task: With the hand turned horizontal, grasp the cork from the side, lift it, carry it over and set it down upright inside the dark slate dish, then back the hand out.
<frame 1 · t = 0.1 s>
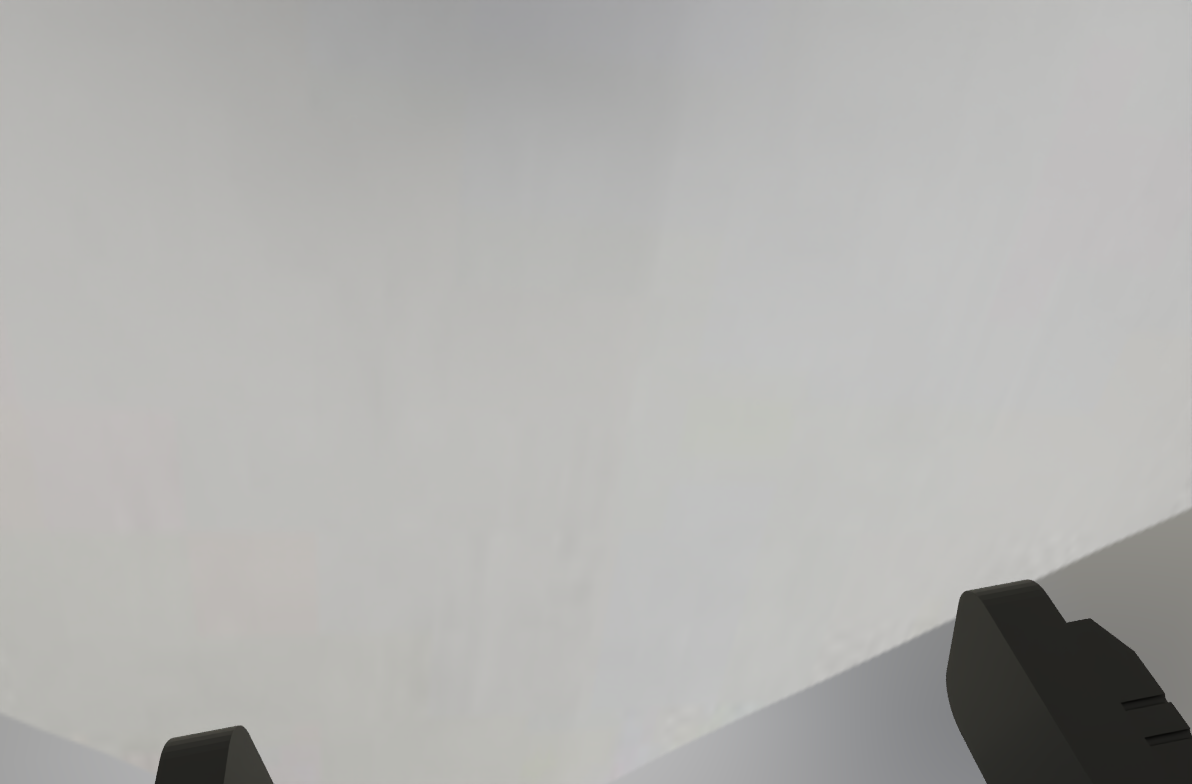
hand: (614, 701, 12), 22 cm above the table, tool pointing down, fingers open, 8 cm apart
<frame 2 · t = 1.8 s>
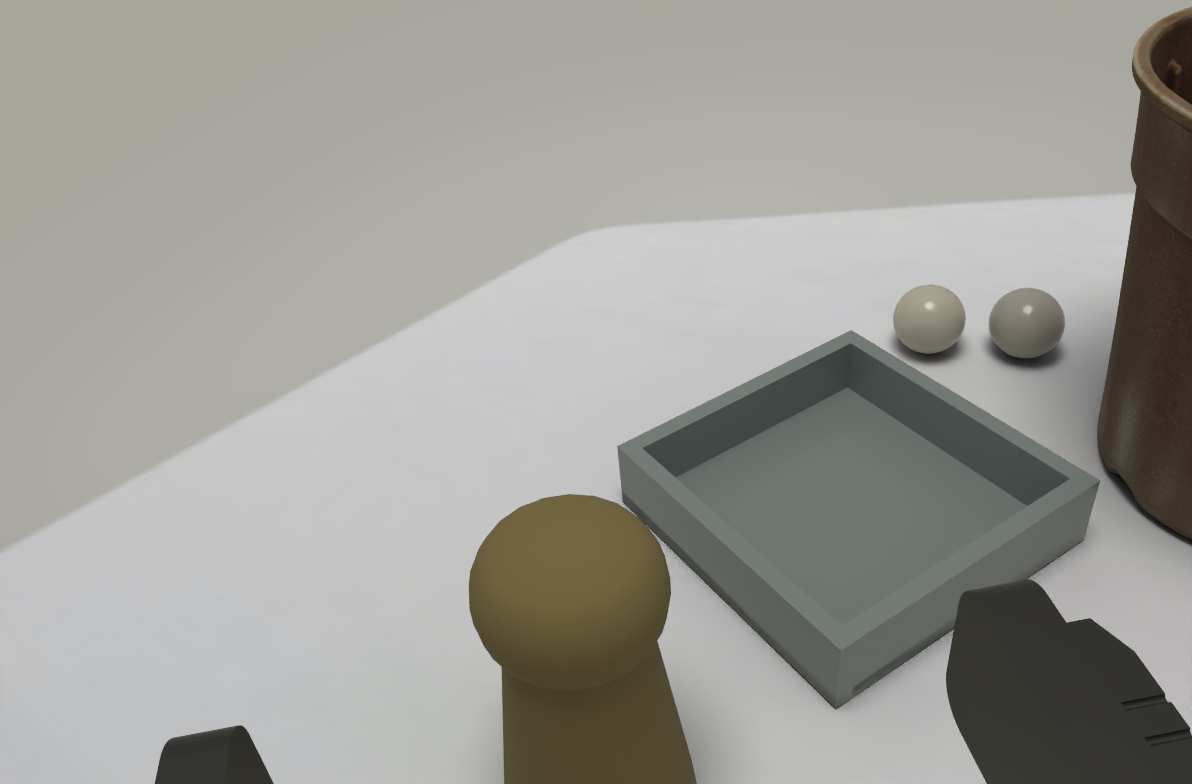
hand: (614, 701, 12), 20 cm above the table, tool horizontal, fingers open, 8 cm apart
pebble b: (1020, 351, 48), on the table
pebble a: (925, 347, 49), on the table
slate dish: (842, 520, 41), on the table
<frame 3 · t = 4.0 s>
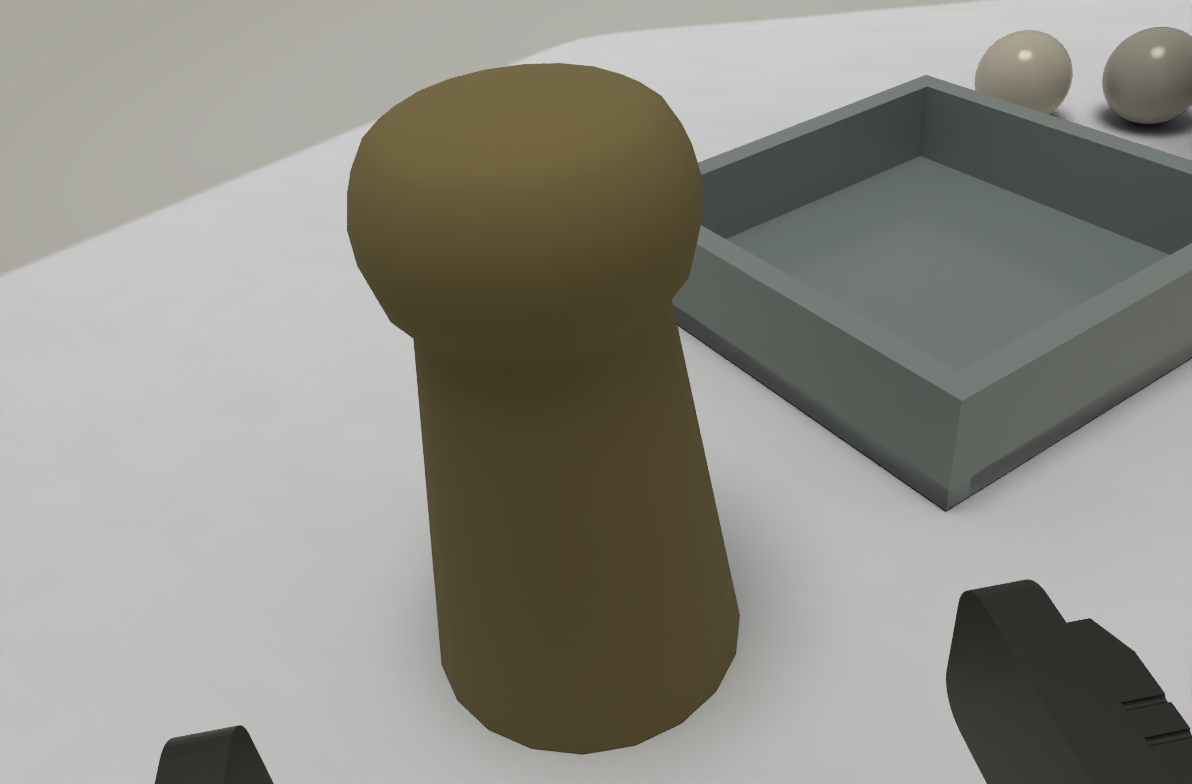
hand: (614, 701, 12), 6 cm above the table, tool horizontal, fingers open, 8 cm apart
pebble b: (1143, 120, 37), on the table
pebble a: (1016, 121, 38), on the table
slate dish: (928, 294, 29), on the table
cork: (589, 628, 21), on the table
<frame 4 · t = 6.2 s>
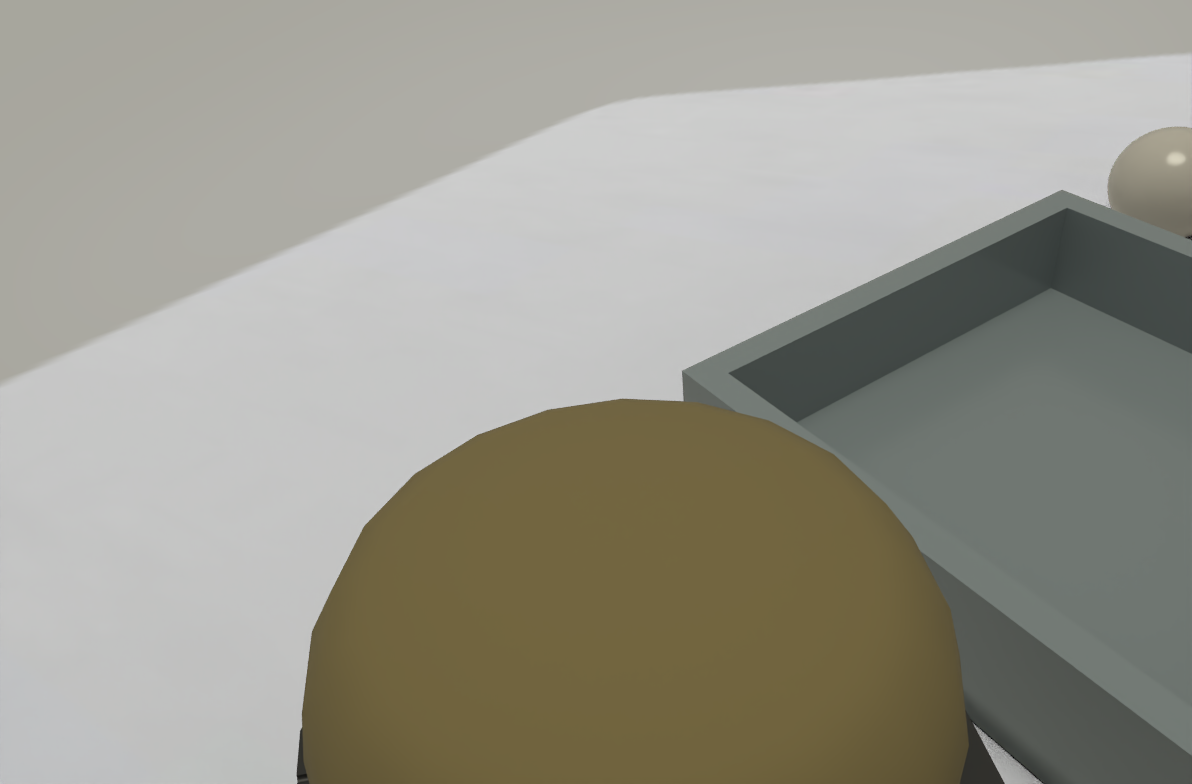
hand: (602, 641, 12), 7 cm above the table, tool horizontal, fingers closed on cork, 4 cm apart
pebble a: (1156, 233, 31), on the table
slate dish: (1092, 503, 22), on the table
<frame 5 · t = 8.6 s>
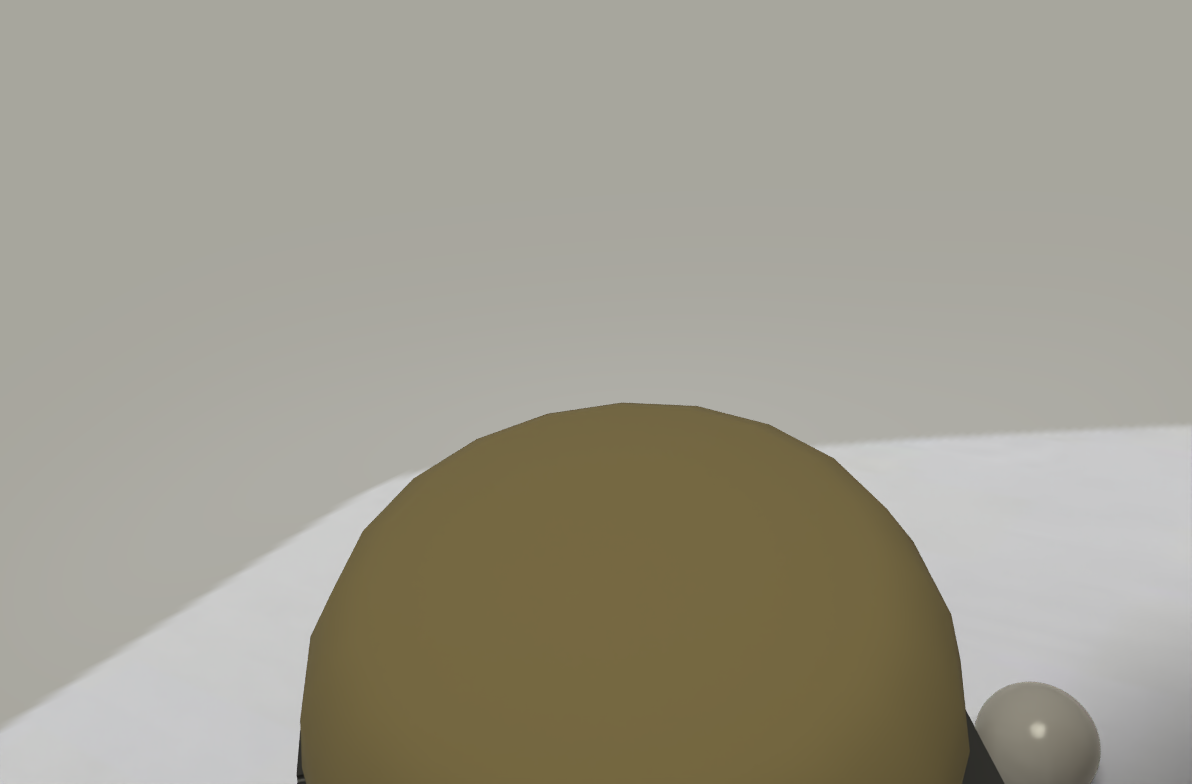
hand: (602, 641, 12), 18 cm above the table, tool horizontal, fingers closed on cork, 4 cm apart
pebble b: (1026, 775, 29), on the table
when the fingers open (8 cm above the table, at t = 10.8 s): cork moves 2 cm, point 1 cm above the table.
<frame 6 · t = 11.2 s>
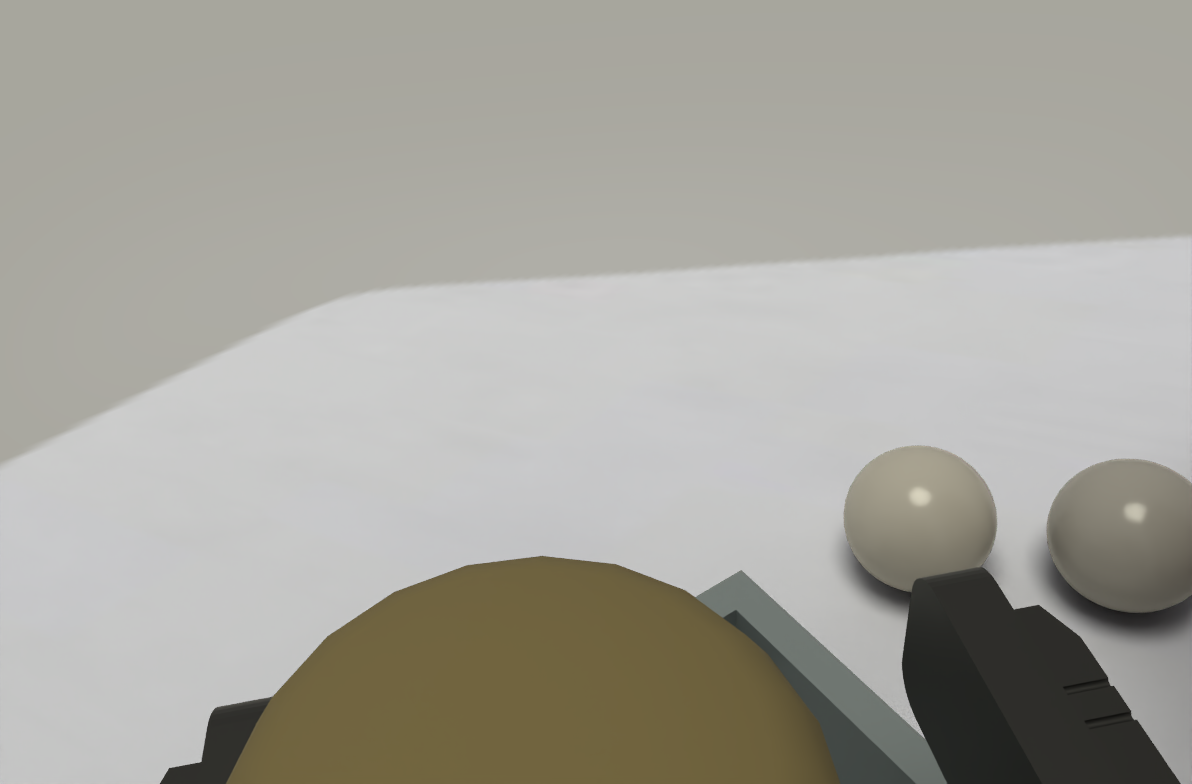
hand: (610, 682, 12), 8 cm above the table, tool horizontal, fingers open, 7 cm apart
pebble b: (1113, 586, 23), on the table
pebble a: (911, 568, 24), on the table
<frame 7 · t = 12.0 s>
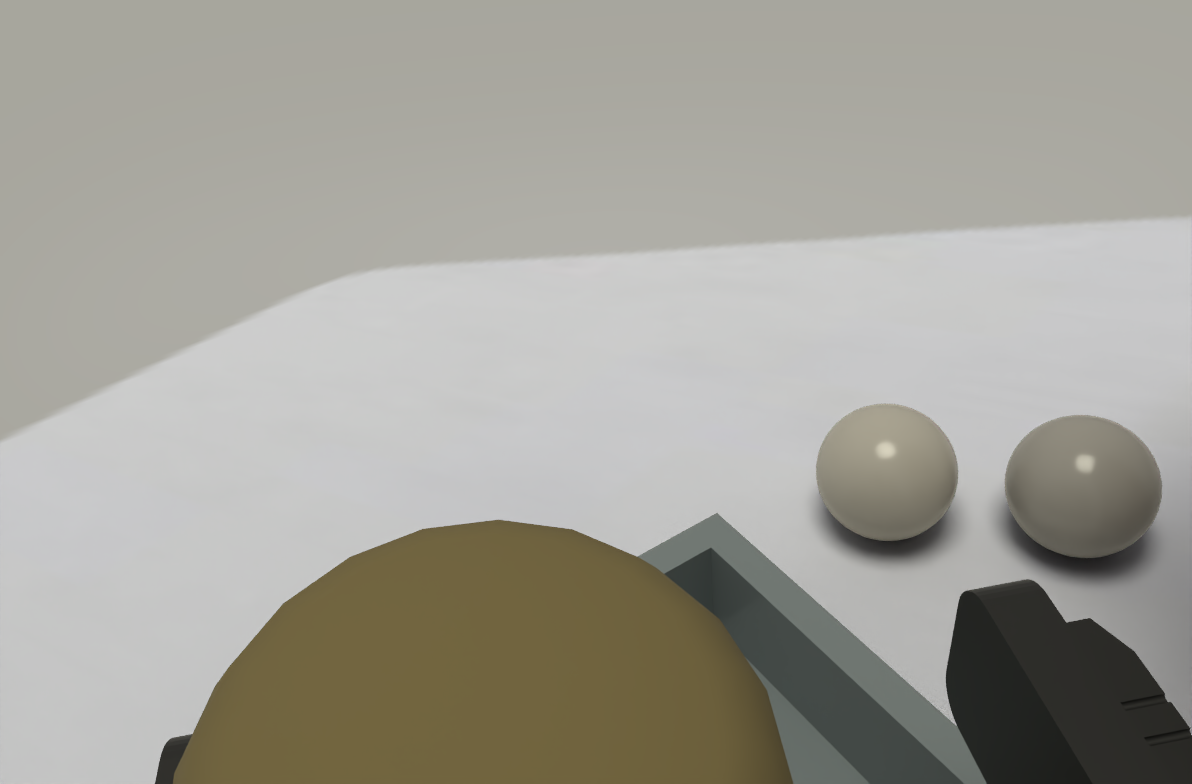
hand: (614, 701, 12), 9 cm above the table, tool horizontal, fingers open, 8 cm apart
pebble b: (1067, 536, 24), on the table
pebble a: (880, 520, 25), on the table
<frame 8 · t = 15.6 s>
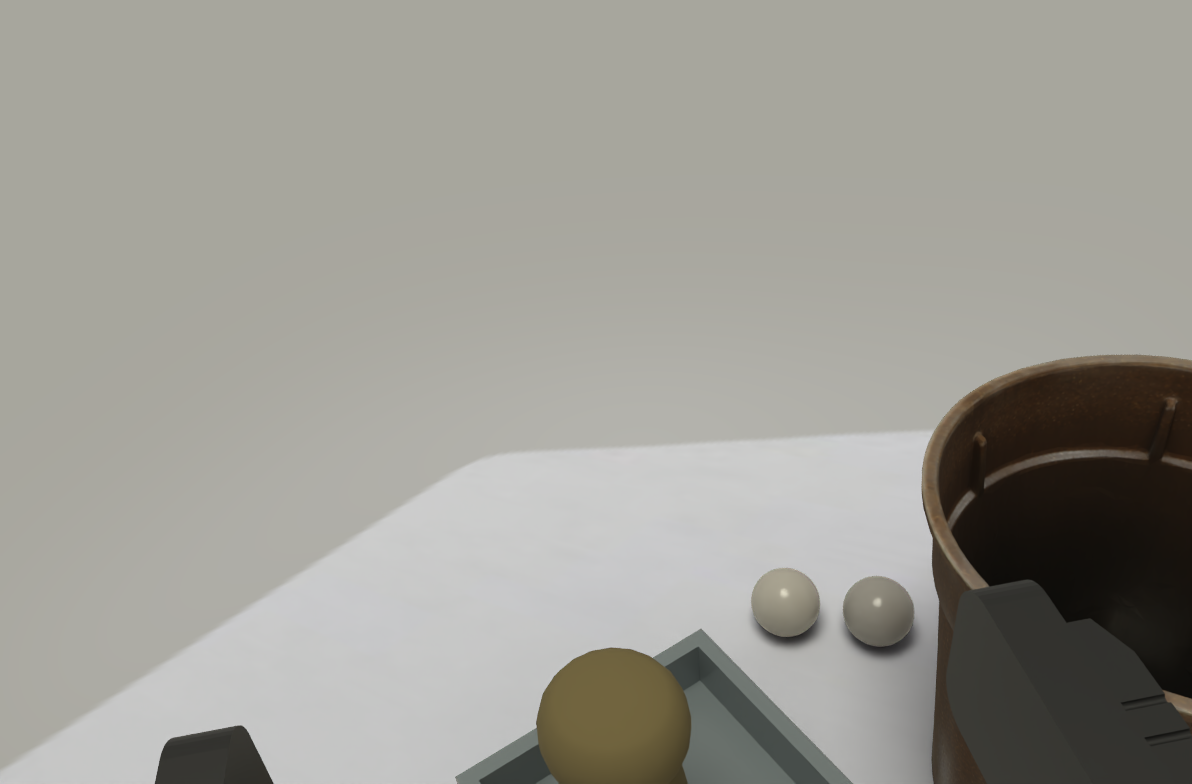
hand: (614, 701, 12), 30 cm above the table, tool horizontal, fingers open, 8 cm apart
pebble b: (875, 633, 49), on the table
pebble a: (784, 624, 50), on the table
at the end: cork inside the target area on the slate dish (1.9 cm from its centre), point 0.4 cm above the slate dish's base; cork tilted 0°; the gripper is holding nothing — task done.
